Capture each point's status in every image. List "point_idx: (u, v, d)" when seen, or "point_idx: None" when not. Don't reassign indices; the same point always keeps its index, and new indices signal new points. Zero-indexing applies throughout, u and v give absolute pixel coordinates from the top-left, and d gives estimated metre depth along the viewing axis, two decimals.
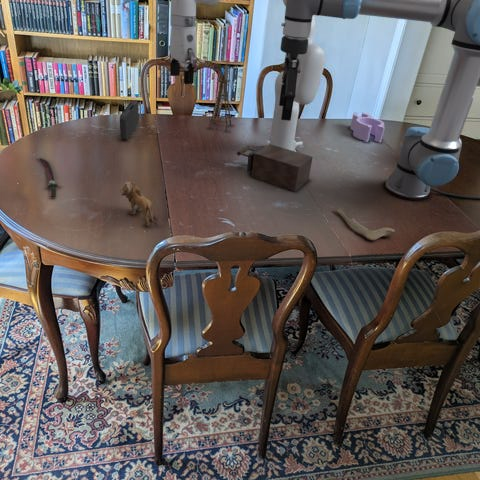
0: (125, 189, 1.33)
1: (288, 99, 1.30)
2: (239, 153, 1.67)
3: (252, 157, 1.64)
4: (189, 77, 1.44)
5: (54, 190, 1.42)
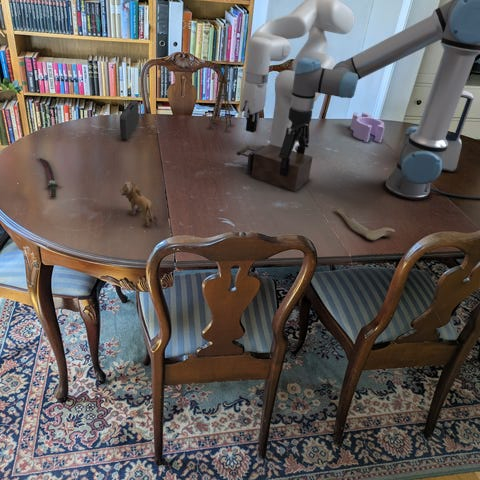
0: (125, 189, 1.33)
1: (283, 159, 1.54)
2: (239, 153, 1.67)
3: (252, 157, 1.64)
4: None
5: (54, 190, 1.42)
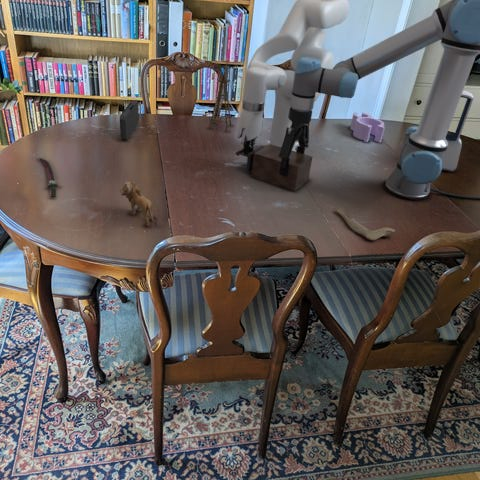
0: (125, 189, 1.33)
1: (283, 159, 1.54)
2: (238, 153, 1.67)
3: (251, 157, 1.64)
4: None
5: (54, 190, 1.42)
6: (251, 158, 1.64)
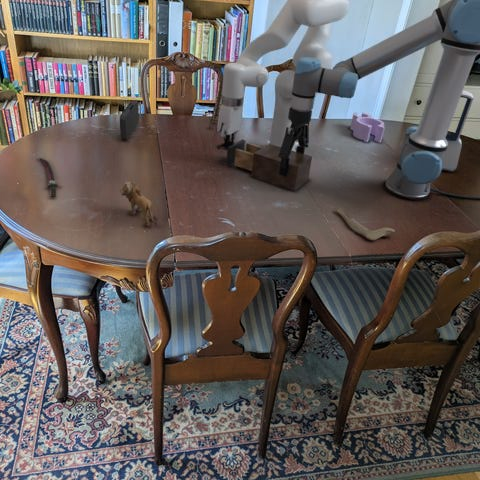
0: (125, 189, 1.33)
1: (282, 159, 1.54)
2: (219, 147, 1.71)
3: (231, 150, 1.67)
4: None
5: (54, 190, 1.42)
6: (231, 152, 1.68)
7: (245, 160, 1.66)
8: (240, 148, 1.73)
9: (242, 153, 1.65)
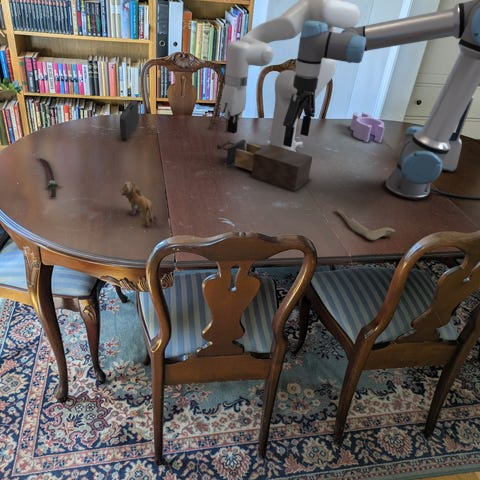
0: (125, 189, 1.33)
1: (287, 128, 1.48)
2: (219, 147, 1.71)
3: (231, 150, 1.67)
4: None
5: (54, 190, 1.42)
6: (231, 152, 1.68)
7: (245, 160, 1.66)
8: (240, 148, 1.73)
9: (243, 153, 1.65)
